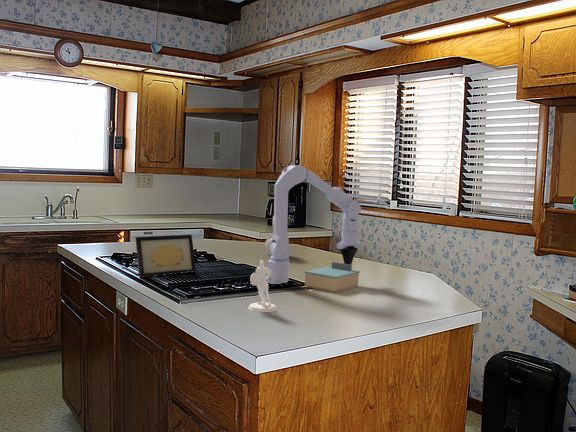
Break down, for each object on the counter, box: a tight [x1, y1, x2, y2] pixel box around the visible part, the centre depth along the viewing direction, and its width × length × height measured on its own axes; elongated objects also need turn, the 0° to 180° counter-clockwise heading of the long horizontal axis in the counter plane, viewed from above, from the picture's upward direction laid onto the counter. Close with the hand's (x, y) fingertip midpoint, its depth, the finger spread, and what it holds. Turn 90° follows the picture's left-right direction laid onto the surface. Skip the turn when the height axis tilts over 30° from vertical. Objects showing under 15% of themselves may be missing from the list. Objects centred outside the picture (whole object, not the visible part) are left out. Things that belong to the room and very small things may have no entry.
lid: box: [304, 261, 361, 279], centre depth 212 cm, size 16×13×3 cm
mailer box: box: [304, 272, 360, 294], centre depth 213 cm, size 16×13×5 cm
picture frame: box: [134, 234, 197, 279], centre depth 222 cm, size 23×9×15 cm, turn 129°
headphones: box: [264, 215, 274, 256], centre depth 278 cm, size 18×10×20 cm, turn 4°
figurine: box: [247, 259, 278, 313], centre depth 175 cm, size 9×9×15 cm
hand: (347, 266), depth 221 cm, fingers closed
